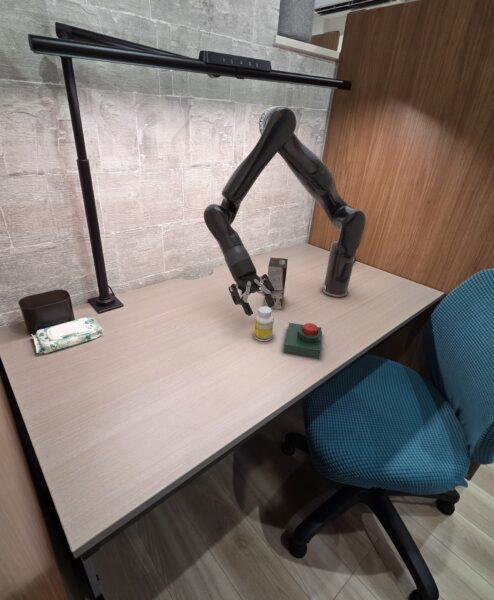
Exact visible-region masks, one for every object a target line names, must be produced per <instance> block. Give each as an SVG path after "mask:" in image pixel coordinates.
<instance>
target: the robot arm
mask: <svg viewBox="0 0 494 600" xmlns="http://www.w3.org/2000/svg"><path fill="white" fill-rule="evenodd" d="M257 120H258V122H257V126H258V127H257V129H258V131H259V134H260V137H259V139H258V141H257V142H256V143H255V145H254V147H253V148H252V149H251V150H250V152H249V153H248V154H247V155H246V157H244V159H243V160H242V161H241V162H240V163H239V165H237V166H236V168H235V169H234V171H233V172H232V173H231V175H230V177H229V178H228V180H227V181H226V183H225V184H224V186H223V188H222V190H221V196H222V201H221V203H220V204H218V203H211V204H209V205H207V206H206V207H205V208H204V211H203V221H204V224H205V226H206V227H207V229H208V231H209V232H210V233H211V235H212V236H213V238H214V239H215V240H216V242H217V244H218V246H219V249H220V251H221V253H222V256H223V258H224V261H225V264H226V267H227V268H228V270H229V273H230V274H231V277H232V279H233V281H234V282H235V283H231V284H230V285H229V286H228V288H227V289H228V291H229V294H230V296H231V299H232V302H233V305H235V306H238V305H240V306H241V307H242V309H243V311H244V314H245V315H247V317H250V316H252V315H254V311H253V309H252V307H251V304H250V303H249V302H248V299H249V296H250V295H251V294H255V293H257V294H260V295H262V296H263V297H264V301H265V300H266V302H267V304H268V307H270V308H271V307H273V306H274V304H275V303H274V301H273V298H272V296H271V293H272V292H273V291H274V288H273V286H272V284H271V282H270V280H269V278H268V274H267V273H264V274H262V275H261V276H259V275H258V273H257V268H256V267H255V264H254V262H253V260H252V258H251V256H250V254H249V251H248V250H247V249H246V247H245V244H244V243H243V241H242V239H241V237H240V235H239V233H238V232H237V231H236V230H235V229H234V228H233V227H232V226H231V225H232V224H233V223H234V221H235V219H236V217H237V214H238V212H239V209H240V207H241V204H242V202H243V201H244V200H245V198H246V197H247V195H248V193H249V191H250V190H251V188H252V187H253V185H254V184H255V182H256V181H257V179H258V178H259V177H260V175H261V174H262V173H263V171H264V169H265V168H266V167H267V166H268V164H269V163H270V162H271V161H272V160H273V158H274V157H275V156H276V155H277V154H278V155H279V156H280V157H281V158H282V160H284V162H285V164H286V165H287V166H288V168H289V169H290V171H291V172H292V174H293V175H294V177H295V178H296V179H297V180H298V182H299V183H300V184H301V186H302V187H303V188H304V190H305V191H306V192H307V193H308V194H309V196H310V197H311V198H312V199H313V200H314V201H315V202H316V204H317V205H319V206H320V207H321V209H322V211H323V212H324V213H325V215H326V217H327V219H328V220H329V222H330V223H331V225H332V227H333V228H334V229H335V230H337V232H339V236H338V240H334V241H332V242H331V244H330V250H329V255H328V259H327V265H326V271H325V276H324V282H323V283H322V292H323V293H324V294H325V295H327V296H330V297H333V298H344V297H346V296H347V295H348V290H349V286H350V282H351V281H350V280H351V276H352V272H353V267H354V263H355V262H356V253H357V250H358V248H359V247H360V246H361V242H362V238H363V236H364V232H365V229H366V223H367V218H366V217H367V216H366V214H365V212H364V211H363V210H360V209H358V208H355V207H352V206H351V205H349V204H348V203H347V202H346V201H345V200H344V199H343V198H342V196H341V195H340V194H339V192H338V190H337V186H336V180H335V178H334V176H333V173H332V172H331V170H330V169H329V167H328V166H327V165H326V163H325V162H324V161H323V160H322V158H321V157H319V155H317V154H316V153H315V152H314V151H313V150H312V149H310V148H309V147H308V146H307V145H306V144H304V143H303V142H302V141H301V140H300V138H299V137H298V136H297V134H296V133H295V132H296V128H297V121H298V120H297V115H296V114H295V111H294V110H293V109H292V108H290V107H288V106H286V105H276V106H270V107H268V108H265V109H264V110H263V111H261V113H260V115H259V117H258V119H257ZM268 286H269V287H268ZM269 288H270V289H269ZM239 291H240V292H239ZM271 309H272V308H271Z"/></svg>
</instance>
